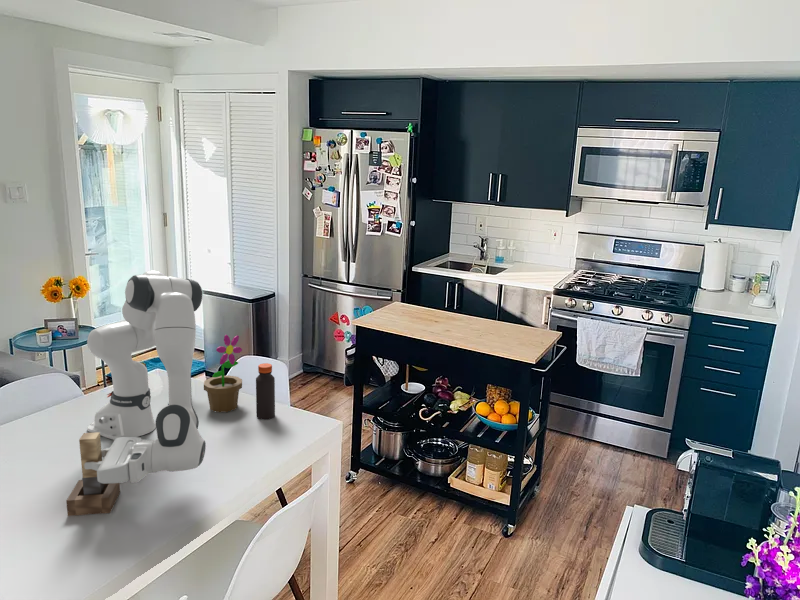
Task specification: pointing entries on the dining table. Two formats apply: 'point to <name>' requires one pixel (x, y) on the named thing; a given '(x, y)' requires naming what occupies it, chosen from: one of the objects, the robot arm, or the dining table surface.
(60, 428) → the dining table surface
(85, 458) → the light wooden block
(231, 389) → the flowerpot
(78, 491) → the wooden square ring
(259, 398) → the bottle
